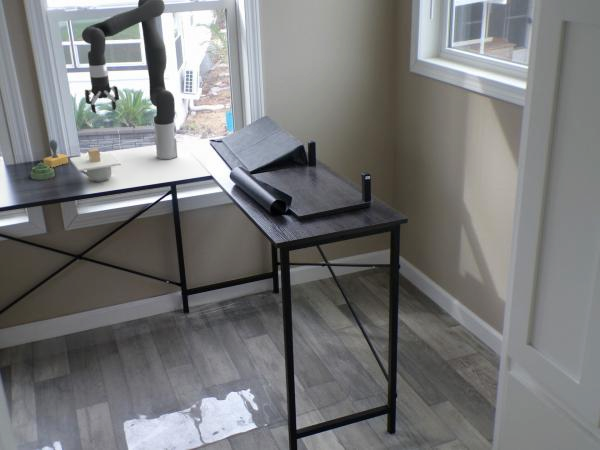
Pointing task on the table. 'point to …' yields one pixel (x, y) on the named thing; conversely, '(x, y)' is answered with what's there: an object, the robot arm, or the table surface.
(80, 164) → the square lid with knob
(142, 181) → the table surface
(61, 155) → the rubber stamp
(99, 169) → the teacup
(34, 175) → the decorative artifact
